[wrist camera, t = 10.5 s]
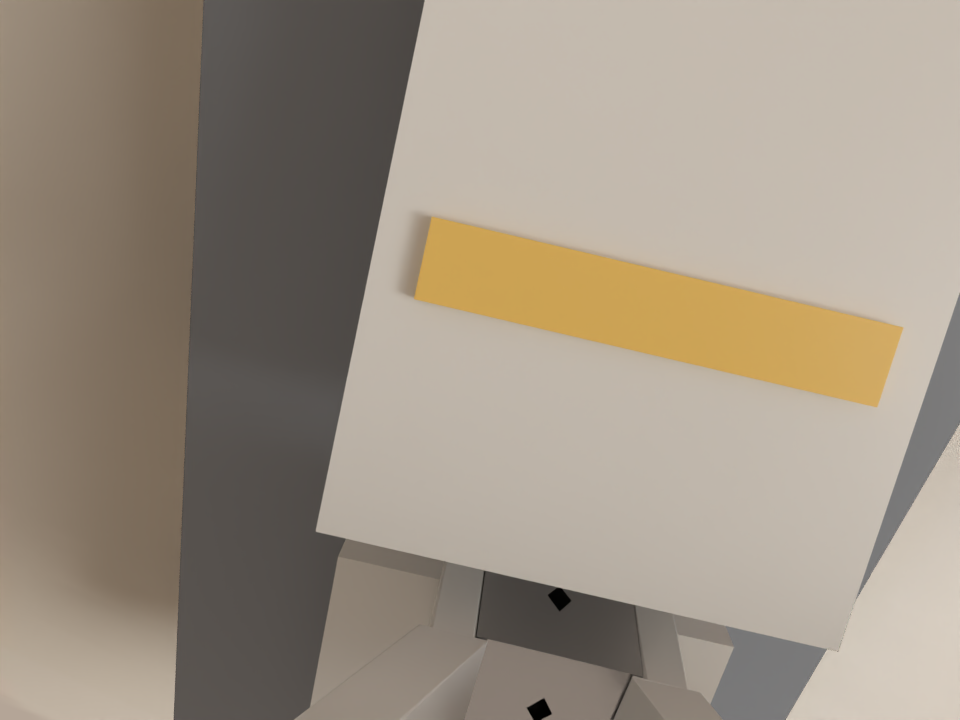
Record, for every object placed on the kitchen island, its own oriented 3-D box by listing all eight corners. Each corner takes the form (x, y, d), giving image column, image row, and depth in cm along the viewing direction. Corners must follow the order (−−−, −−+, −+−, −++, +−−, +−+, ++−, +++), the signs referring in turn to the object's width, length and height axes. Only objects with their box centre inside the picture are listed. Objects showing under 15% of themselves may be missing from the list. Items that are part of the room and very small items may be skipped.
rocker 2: (513, -294, 8) (519, -476, 6) (1008, -174, 8) (1178, -314, 6) (351, 477, 9) (311, 537, 7) (772, 574, 9) (844, 659, 7)
